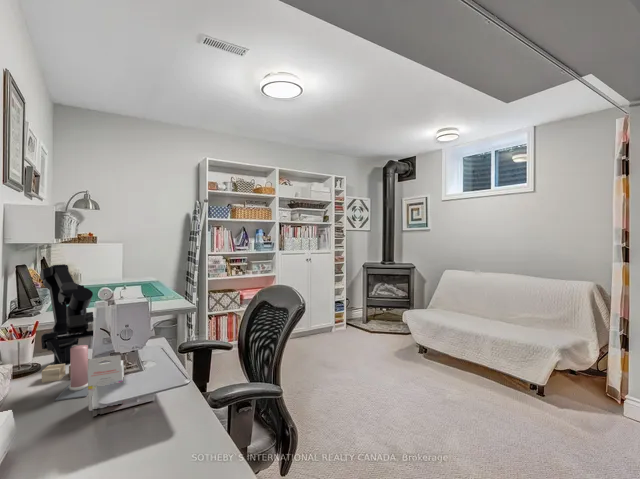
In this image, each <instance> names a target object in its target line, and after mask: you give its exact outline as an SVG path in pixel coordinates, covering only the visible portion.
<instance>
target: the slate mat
mask: <svg viewBox="0 0 640 479" xmlns="http://www.w3.org/2000/svg"><path fill="white" fill-rule="evenodd" d="M70 385H71V382H70V383H69V384H68V385H67V386H66V387H65V389H64V390H63V391H61V392H60V393H59V395H58V396H57V397H56V398H55V399H54V401H55V402H58V401H64V400H72V399H79V398H86V397H88V387H87V388H85V389H82V390H78V391H70V389H69V386H70Z"/></svg>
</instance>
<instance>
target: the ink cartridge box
mask: <svg viewBox="0 0 640 479" xmlns="http://www.w3.org/2000/svg"><path fill="white" fill-rule="evenodd" d="M88 359H89V360H88V395H87V399H88V402H87V403H88V411H89V412H91V411H93V410H92V396H93V392H94V391H95V388H96V386H105V385H110V384H114V383H120V382H122V381H123V377H124V378H125V370H124V359H123V360H122V356H121V355H120V354H117V355H112V356H111V355H110V356H103V357H97V358H88ZM104 361H106V362H104ZM108 361H109V362H108ZM100 362H103V363H100Z"/></svg>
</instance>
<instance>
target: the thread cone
mask: <svg viewBox="0 0 640 479" xmlns="http://www.w3.org/2000/svg"><path fill="white" fill-rule="evenodd" d="M88 359H89V345H88V344H81V345H73V346H72V348H70V364H69V366H70V370H71V377H70V383H71V385H70V386H69V389H70V391H78V390H82V389H85V388H87V387H88Z"/></svg>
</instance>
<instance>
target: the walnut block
mask: <svg viewBox="0 0 640 479" xmlns="http://www.w3.org/2000/svg"><path fill="white" fill-rule="evenodd" d="M89 359H90V358H88V360H89ZM68 378H71V370H70V365H68Z"/></svg>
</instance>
